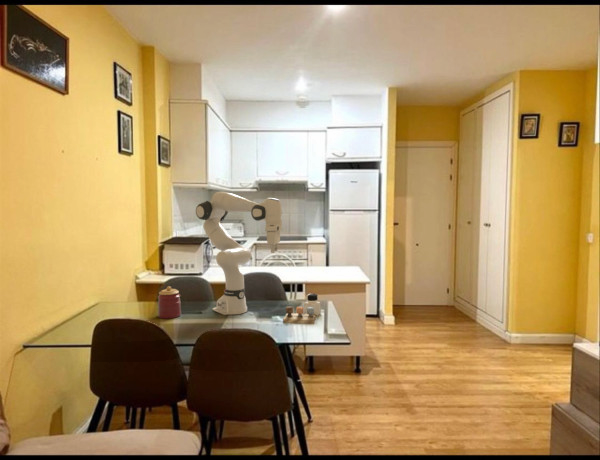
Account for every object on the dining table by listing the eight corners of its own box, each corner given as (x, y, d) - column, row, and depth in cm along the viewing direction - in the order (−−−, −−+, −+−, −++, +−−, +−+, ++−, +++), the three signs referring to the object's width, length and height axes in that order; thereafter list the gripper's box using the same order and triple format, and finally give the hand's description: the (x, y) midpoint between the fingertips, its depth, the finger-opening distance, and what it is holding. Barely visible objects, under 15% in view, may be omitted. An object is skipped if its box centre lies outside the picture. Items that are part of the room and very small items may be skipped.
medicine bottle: (320, 314, 235) (320, 294, 234) (313, 316, 230) (312, 296, 229) (311, 311, 240) (311, 292, 239) (304, 314, 235) (303, 294, 234)
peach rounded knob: (295, 317, 222) (295, 308, 222) (297, 315, 226) (297, 306, 226) (302, 317, 221) (302, 308, 221) (304, 315, 225) (303, 306, 225)
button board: (283, 322, 219) (283, 318, 219) (287, 316, 231) (287, 312, 231) (313, 323, 216) (313, 320, 216) (316, 317, 228) (316, 314, 228)
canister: (169, 311, 243) (168, 283, 242) (185, 314, 238) (185, 285, 236) (153, 317, 232) (152, 287, 230) (170, 320, 226) (169, 289, 225)
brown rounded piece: (285, 316, 223) (285, 308, 223) (286, 314, 227) (286, 306, 227) (292, 317, 222) (292, 308, 222) (293, 315, 226) (293, 306, 226)
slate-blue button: (306, 317, 221) (306, 308, 221) (307, 315, 225) (307, 306, 225) (313, 317, 220) (313, 309, 220) (314, 315, 224) (314, 307, 224)
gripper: (271, 226, 231) (272, 249, 232) (264, 228, 210) (265, 254, 211) (282, 226, 230) (282, 249, 231) (276, 228, 210) (276, 254, 211)
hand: (274, 251), depth 221 cm, fingers open, 8 cm apart
